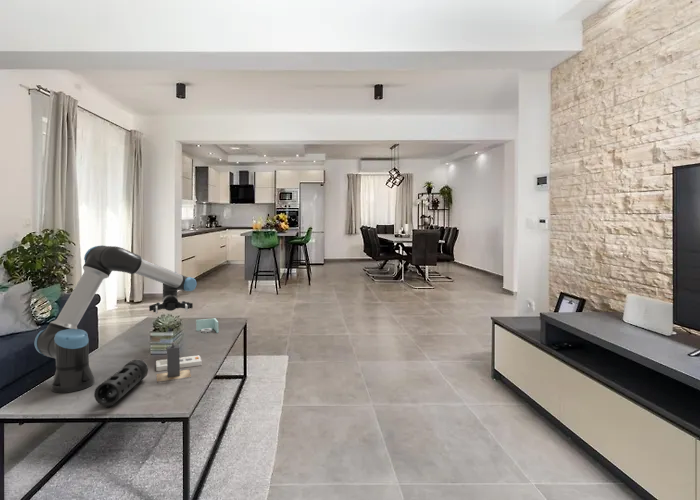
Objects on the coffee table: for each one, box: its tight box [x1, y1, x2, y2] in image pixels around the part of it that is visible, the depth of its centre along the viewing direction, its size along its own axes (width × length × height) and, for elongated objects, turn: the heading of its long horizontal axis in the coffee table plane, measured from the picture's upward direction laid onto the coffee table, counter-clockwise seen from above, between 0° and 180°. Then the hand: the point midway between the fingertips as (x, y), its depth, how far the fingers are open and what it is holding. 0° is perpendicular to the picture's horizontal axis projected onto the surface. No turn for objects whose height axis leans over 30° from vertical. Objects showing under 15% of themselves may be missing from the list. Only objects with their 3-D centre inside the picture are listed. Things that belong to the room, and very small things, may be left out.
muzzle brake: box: [93, 358, 149, 408], centre depth 167 cm, size 10×28×10 cm, turn 5°
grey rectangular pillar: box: [166, 342, 181, 378], centre depth 186 cm, size 5×4×15 cm
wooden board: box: [156, 369, 192, 384], centre depth 186 cm, size 14×10×1 cm
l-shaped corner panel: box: [195, 317, 220, 334], centre depth 264 cm, size 12×12×8 cm
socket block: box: [155, 355, 203, 372], centre depth 200 cm, size 20×10×3 cm, turn 116°
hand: (171, 309), depth 202 cm, fingers open, 13 cm apart
